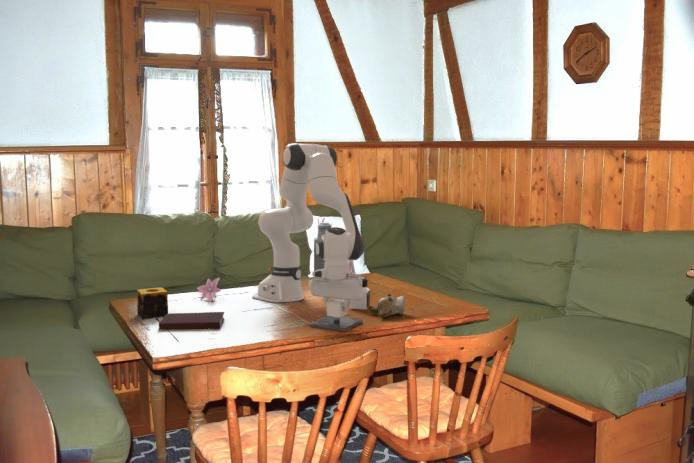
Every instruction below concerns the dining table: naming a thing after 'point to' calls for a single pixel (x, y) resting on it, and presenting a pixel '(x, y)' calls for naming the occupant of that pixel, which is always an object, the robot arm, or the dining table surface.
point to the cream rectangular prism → (336, 308)
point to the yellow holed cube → (152, 303)
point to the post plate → (336, 323)
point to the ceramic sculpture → (389, 306)
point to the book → (192, 321)
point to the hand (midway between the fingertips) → (337, 310)
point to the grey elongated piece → (321, 231)
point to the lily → (209, 289)
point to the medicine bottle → (365, 301)
